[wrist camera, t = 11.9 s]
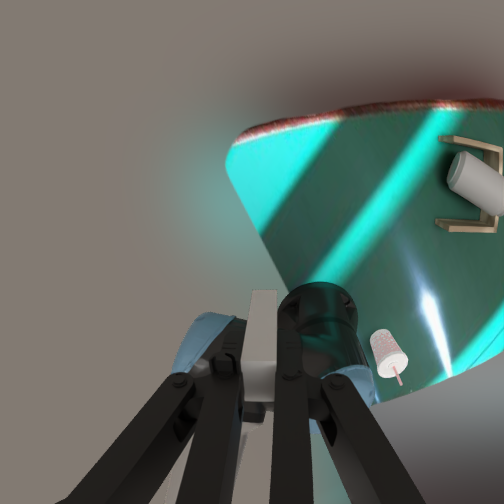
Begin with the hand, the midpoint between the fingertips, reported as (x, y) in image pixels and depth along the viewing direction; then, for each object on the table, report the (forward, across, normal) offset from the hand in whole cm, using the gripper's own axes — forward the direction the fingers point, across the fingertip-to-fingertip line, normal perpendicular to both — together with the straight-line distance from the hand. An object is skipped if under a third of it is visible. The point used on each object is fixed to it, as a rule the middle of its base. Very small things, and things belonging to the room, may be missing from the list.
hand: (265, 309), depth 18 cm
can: (+26, -31, -9) cm, 41 cm away
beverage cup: (+30, -22, +26) cm, 45 cm away
